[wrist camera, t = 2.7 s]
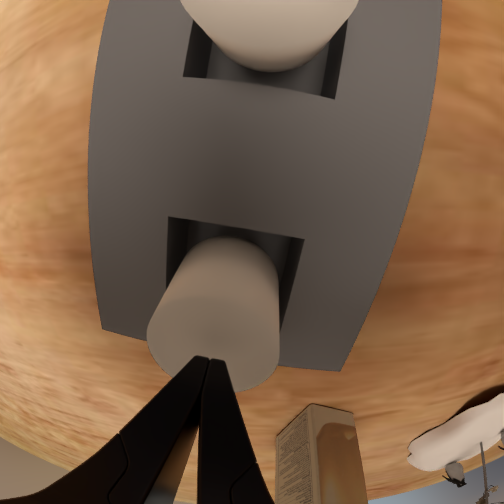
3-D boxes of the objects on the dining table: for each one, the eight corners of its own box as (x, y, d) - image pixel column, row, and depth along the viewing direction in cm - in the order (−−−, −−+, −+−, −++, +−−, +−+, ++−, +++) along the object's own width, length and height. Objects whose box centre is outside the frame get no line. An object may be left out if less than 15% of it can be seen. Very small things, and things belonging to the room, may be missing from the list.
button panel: (329, 322, 17) (339, 371, 14) (130, 287, 17) (102, 329, 14) (404, -101, 5) (426, -129, 1) (202, -131, 5) (189, -164, 1)
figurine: (544, 346, 17) (595, 477, 3) (538, 404, 23) (563, 492, 9) (380, 438, 26) (386, 573, 12) (423, 466, 31) (431, 555, 17)
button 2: (268, 327, 13) (265, 400, 9) (178, 311, 13) (150, 379, 9) (288, 245, 11) (294, 310, 8) (182, 227, 11) (143, 283, 8)
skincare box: (314, 443, 24) (319, 558, 13) (274, 436, 23) (269, 559, 12) (356, 410, 21) (376, 544, 10) (312, 400, 21) (320, 551, 10)
